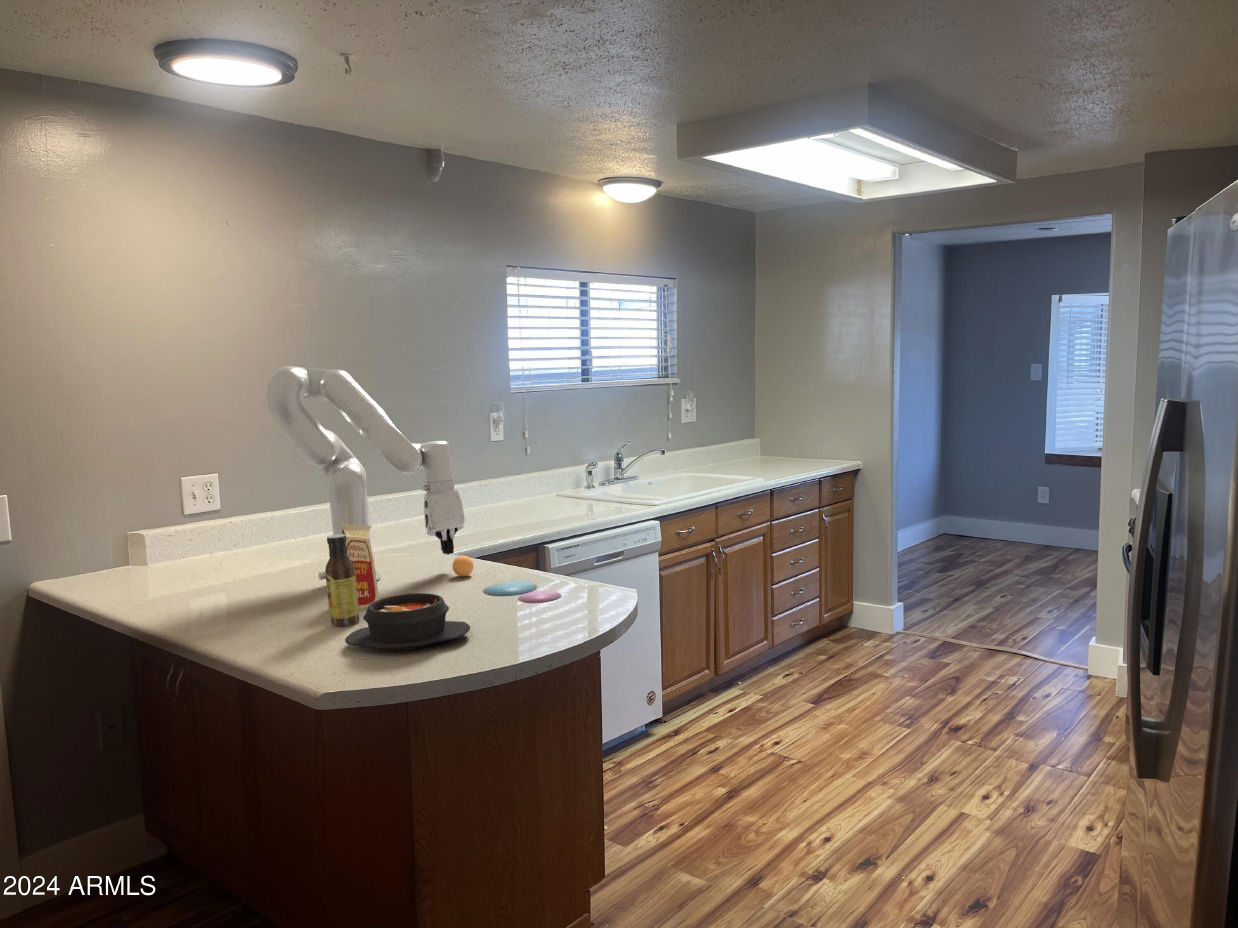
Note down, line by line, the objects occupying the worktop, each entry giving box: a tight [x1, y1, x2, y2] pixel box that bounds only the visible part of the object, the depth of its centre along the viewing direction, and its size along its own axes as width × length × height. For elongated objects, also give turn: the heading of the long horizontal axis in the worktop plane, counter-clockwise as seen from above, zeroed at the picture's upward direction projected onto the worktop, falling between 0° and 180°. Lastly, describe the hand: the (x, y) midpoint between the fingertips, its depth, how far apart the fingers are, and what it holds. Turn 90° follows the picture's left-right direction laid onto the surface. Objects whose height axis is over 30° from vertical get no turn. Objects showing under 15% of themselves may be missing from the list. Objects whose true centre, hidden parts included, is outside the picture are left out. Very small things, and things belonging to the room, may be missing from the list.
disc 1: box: [483, 581, 538, 597], centre depth 227 cm, size 13×13×1 cm
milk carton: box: [341, 523, 379, 609], centre depth 220 cm, size 9×9×20 cm
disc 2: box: [518, 590, 562, 604], centre depth 218 cm, size 10×10×1 cm
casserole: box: [344, 592, 471, 651], centre depth 187 cm, size 25×19×8 cm
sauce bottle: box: [324, 534, 360, 628], centre depth 203 cm, size 6×6×20 cm
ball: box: [451, 555, 474, 577], centre depth 243 cm, size 6×6×6 cm
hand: (448, 553), depth 251 cm, fingers closed
